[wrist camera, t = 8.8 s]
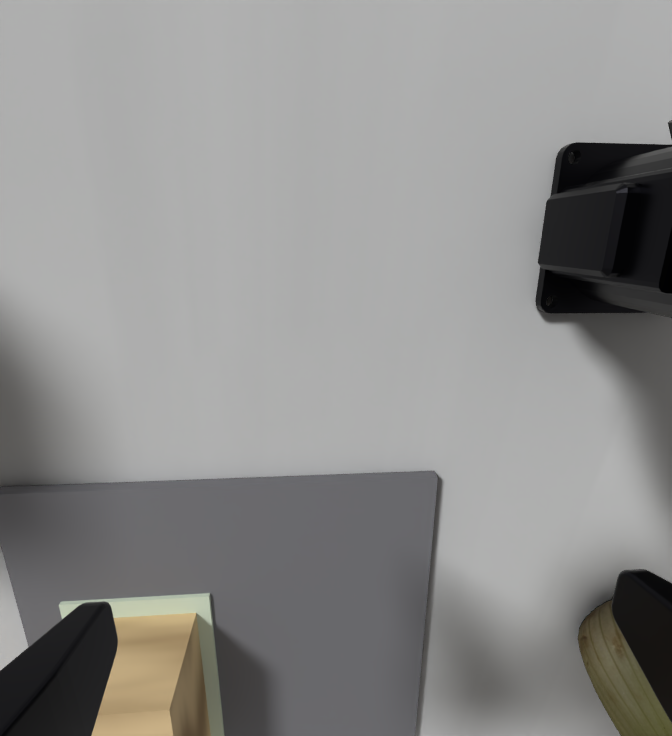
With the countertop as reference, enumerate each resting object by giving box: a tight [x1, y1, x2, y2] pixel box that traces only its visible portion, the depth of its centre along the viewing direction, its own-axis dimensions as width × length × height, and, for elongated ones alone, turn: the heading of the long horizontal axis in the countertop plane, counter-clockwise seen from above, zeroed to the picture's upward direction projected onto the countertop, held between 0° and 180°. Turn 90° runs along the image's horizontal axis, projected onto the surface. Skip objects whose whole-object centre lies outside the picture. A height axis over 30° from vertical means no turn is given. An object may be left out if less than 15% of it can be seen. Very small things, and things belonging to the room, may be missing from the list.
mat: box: [0, 471, 438, 736], centre depth 22 cm, size 20×18×1 cm
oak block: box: [91, 613, 211, 736], centre depth 20 cm, size 9×6×4 cm, turn 0°
